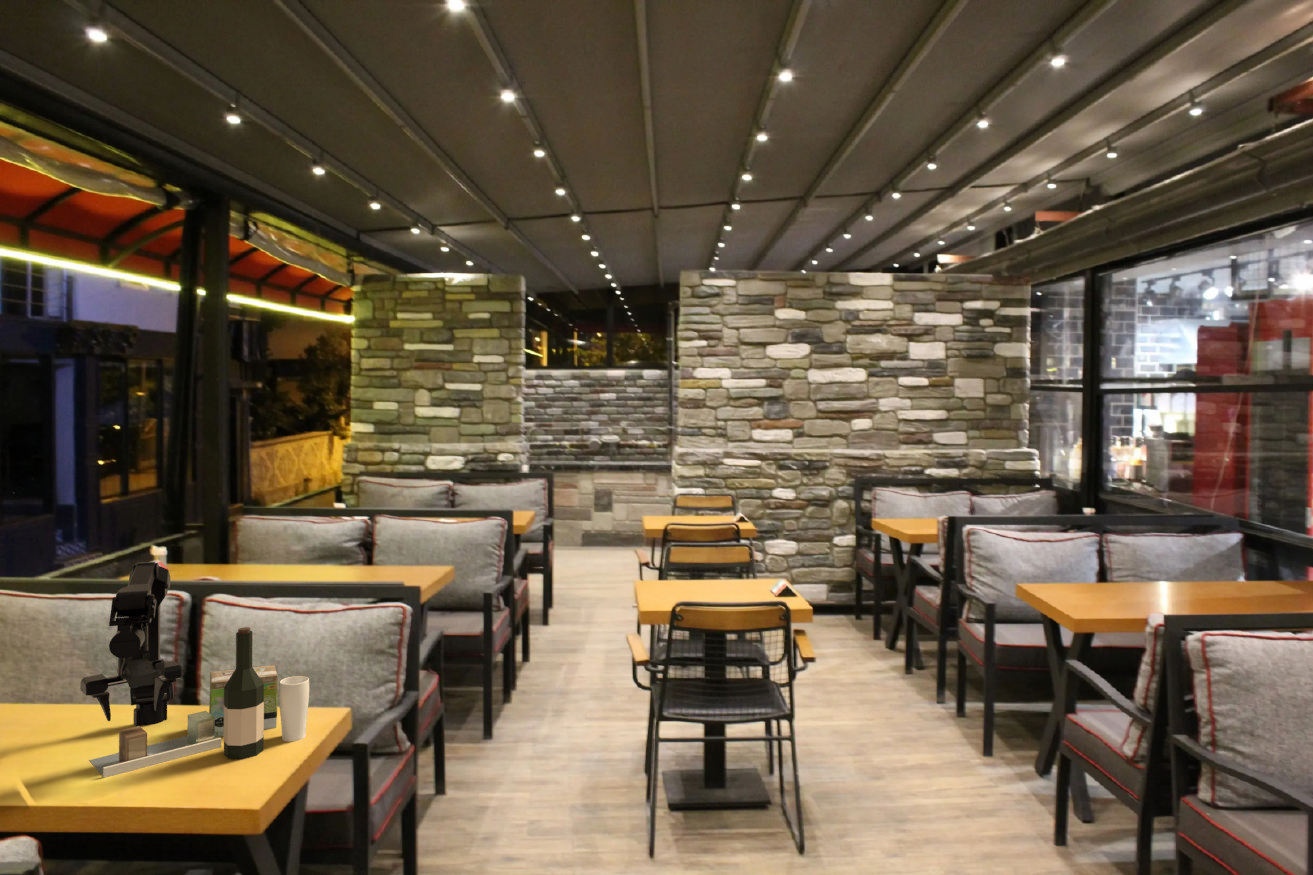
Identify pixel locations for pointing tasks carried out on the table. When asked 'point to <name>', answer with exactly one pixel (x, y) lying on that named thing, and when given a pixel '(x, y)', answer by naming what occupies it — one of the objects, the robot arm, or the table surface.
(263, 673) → the tea box
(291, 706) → the drinking glass
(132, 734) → the block
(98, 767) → the display board
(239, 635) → the wine bottle
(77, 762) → the table surface
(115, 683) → the robot arm
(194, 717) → the sage tin
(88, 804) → the table surface
